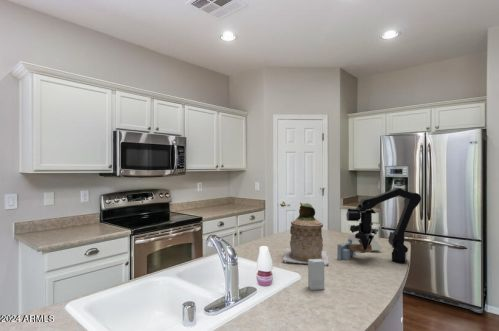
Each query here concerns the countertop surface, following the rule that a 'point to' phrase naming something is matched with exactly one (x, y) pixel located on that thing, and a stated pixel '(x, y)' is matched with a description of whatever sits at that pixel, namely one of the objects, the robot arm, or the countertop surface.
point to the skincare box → (316, 274)
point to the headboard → (345, 251)
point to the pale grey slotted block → (357, 241)
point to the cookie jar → (305, 238)
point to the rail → (358, 248)
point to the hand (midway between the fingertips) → (366, 248)
